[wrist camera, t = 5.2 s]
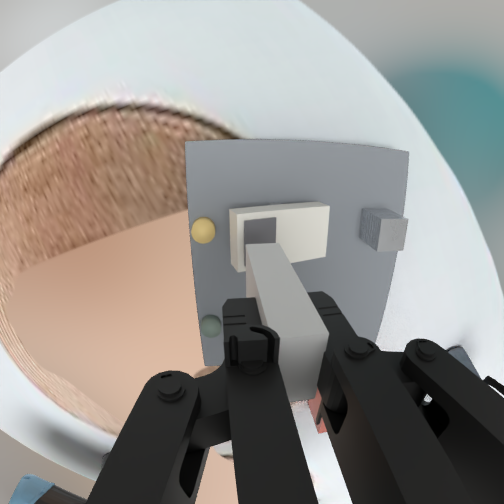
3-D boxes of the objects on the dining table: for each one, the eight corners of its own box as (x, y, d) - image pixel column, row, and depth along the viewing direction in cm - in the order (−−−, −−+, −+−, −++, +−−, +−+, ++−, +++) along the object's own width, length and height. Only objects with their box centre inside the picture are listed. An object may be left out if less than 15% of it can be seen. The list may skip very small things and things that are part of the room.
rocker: (230, 263, 19) (238, 273, 17) (229, 209, 17) (237, 215, 16) (314, 249, 21) (326, 257, 19) (317, 201, 19) (331, 206, 18)
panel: (204, 348, 27) (204, 374, 24) (188, 141, 20) (183, 141, 16) (364, 331, 29) (378, 352, 25) (392, 149, 22) (417, 152, 18)
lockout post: (358, 237, 22) (376, 252, 19) (361, 208, 21) (381, 218, 18) (383, 236, 22) (403, 250, 19) (387, 208, 21) (408, 219, 18)
